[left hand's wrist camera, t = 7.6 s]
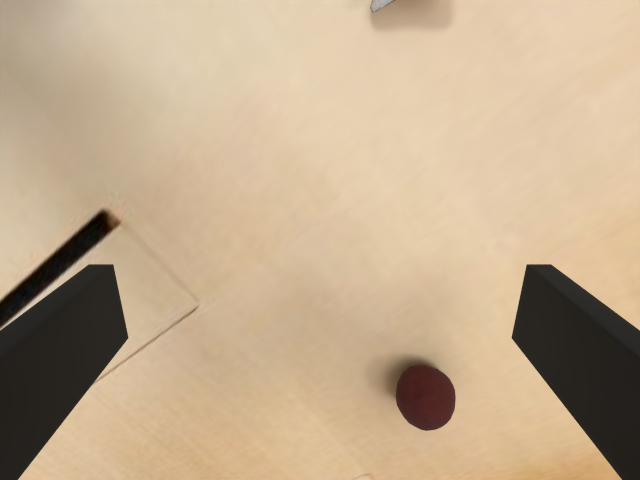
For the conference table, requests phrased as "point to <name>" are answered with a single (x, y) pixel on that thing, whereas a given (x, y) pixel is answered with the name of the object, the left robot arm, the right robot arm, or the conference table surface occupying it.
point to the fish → (379, 4)
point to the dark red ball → (425, 397)
